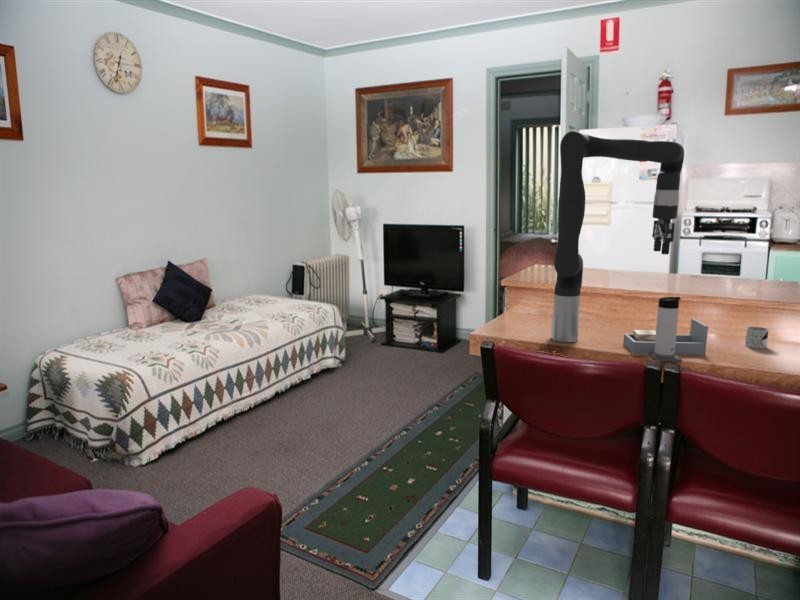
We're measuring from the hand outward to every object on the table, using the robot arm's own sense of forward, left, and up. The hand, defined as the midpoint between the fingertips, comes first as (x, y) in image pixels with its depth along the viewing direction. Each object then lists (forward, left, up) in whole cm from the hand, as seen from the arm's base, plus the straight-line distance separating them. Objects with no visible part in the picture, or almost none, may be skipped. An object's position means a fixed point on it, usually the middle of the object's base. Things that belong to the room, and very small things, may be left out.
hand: (660, 252), depth 204 cm
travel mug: (+1, -7, -34) cm, 35 cm away
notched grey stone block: (+40, +12, -35) cm, 54 cm away
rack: (+5, +4, -35) cm, 35 cm away
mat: (+2, -7, -35) cm, 35 cm away
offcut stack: (-1, +5, -35) cm, 35 cm away
